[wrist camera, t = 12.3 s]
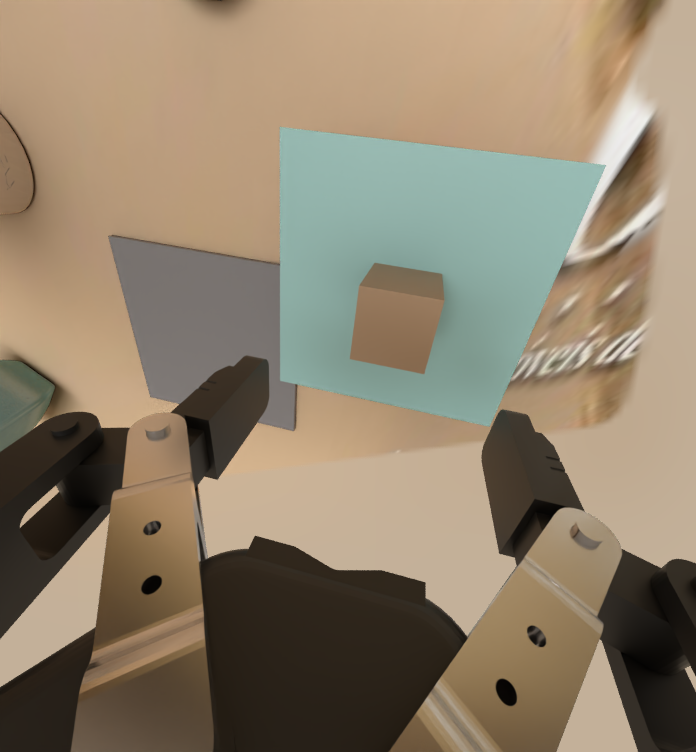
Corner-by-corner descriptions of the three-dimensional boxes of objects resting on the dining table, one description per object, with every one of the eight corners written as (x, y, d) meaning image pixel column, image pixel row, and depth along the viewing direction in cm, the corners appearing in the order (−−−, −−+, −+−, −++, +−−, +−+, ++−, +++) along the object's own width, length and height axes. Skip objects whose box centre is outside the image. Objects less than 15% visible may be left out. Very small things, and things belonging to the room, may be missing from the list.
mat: (153, 394, 40) (150, 396, 39) (112, 235, 30) (108, 236, 30) (295, 428, 37) (293, 431, 37) (300, 267, 28) (298, 269, 27)
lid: (284, 375, 26) (250, 420, 22) (285, 128, 18) (230, 110, 13) (487, 419, 24) (501, 479, 20) (598, 165, 16) (671, 160, 11)
